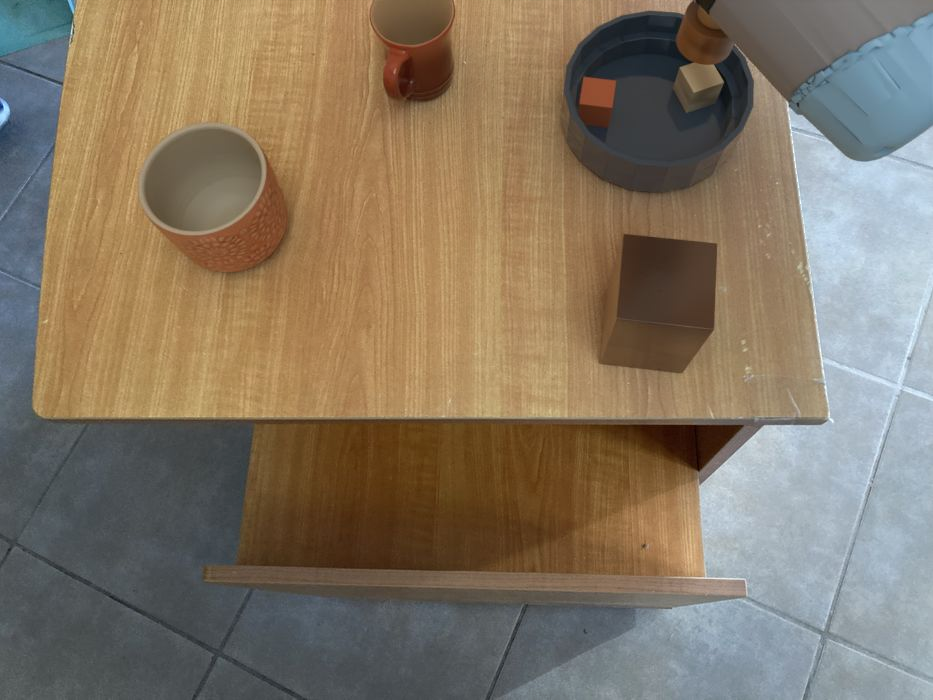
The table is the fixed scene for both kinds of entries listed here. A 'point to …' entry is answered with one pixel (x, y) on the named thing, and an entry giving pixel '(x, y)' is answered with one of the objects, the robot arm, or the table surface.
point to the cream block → (697, 86)
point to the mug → (415, 46)
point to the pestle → (702, 37)
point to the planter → (214, 196)
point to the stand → (659, 303)
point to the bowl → (652, 106)
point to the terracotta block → (596, 101)
